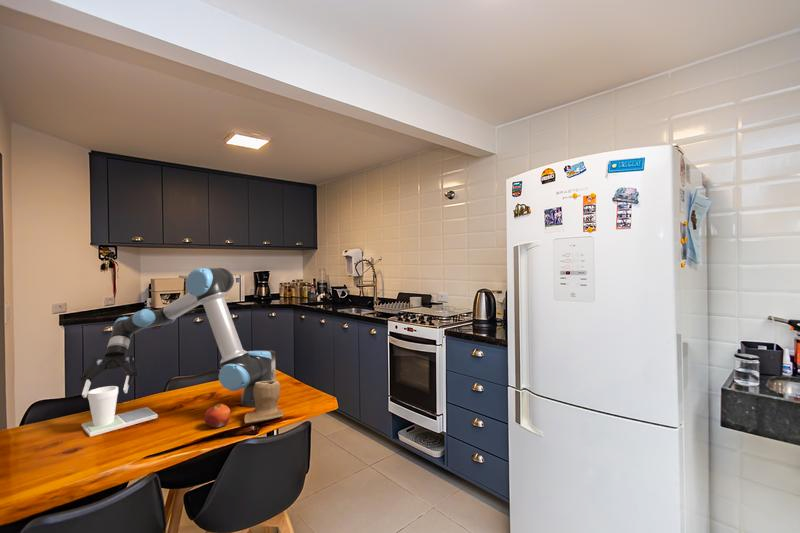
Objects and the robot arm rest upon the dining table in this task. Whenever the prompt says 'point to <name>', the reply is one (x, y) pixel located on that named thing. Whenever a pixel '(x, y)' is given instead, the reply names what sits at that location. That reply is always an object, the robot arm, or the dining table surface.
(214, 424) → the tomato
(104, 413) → the foam cup
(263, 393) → the stone cup
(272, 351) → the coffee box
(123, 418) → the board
